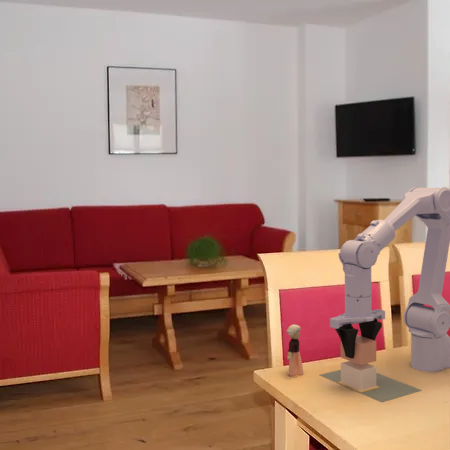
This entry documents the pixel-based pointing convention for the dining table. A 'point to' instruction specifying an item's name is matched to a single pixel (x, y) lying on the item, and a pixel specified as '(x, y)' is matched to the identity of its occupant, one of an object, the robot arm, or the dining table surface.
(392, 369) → the dining table surface
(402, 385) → the baseplate
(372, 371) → the cream brick
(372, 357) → the terracotta brick
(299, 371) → the grandmother figurine
